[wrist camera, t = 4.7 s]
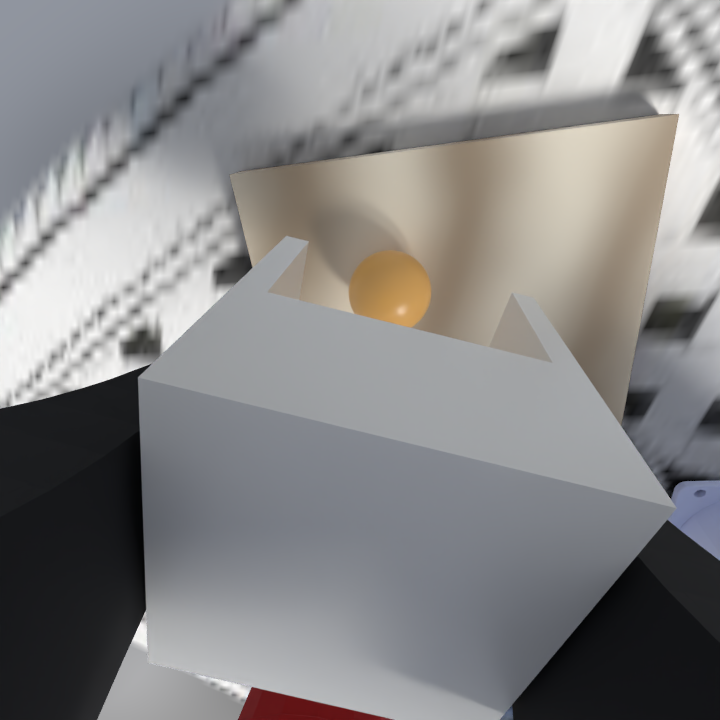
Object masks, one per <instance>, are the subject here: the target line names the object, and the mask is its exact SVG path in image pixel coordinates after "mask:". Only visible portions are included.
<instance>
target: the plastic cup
mask: <svg viewBox="0 0 720 720" xmlns="http://www.w3.org/2000/svg"><path fill="white" fill-rule="evenodd" d="M238 720H394V719H389V718H385V717H381V716H376V715H372V714H368V713H363V712H359V711H354V710H350V709H346V708H341V707H337V706H333V705H328V704H324V703H320V702H315V701H311V700H307V699H302V698H298V697H294V696H289V695H285V694H281V693H276V692H272V691H268V690H263V689H259V688H254V687H252V688H251V690H250V693H249V695H248V697H247V700H246V702H245V704H244V707H243V709H242V711H241V714H240V716H239V719H238Z"/></svg>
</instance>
